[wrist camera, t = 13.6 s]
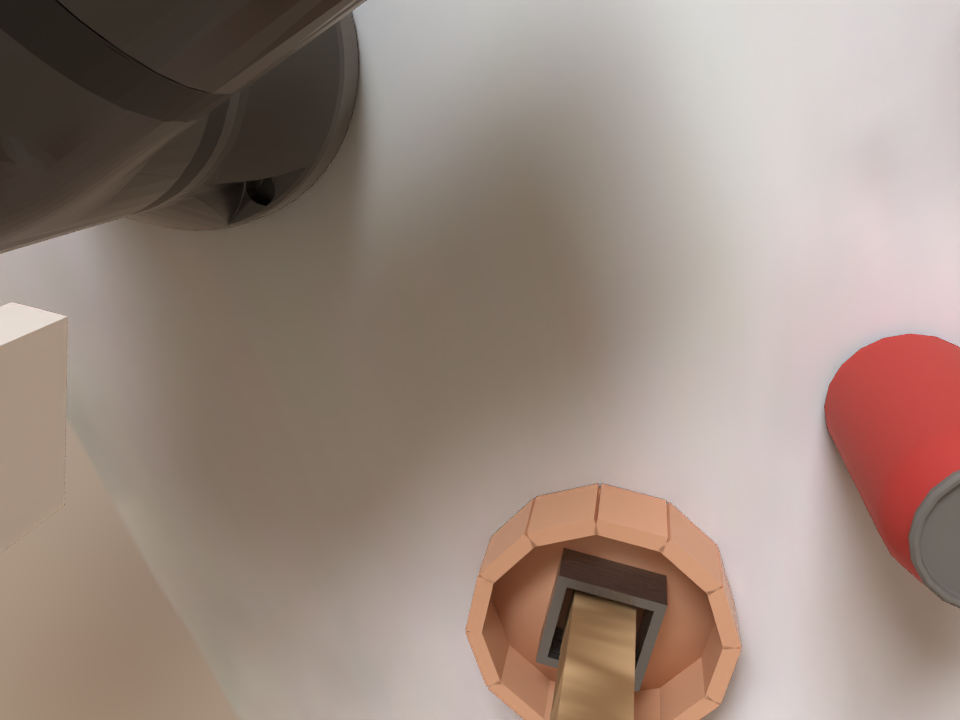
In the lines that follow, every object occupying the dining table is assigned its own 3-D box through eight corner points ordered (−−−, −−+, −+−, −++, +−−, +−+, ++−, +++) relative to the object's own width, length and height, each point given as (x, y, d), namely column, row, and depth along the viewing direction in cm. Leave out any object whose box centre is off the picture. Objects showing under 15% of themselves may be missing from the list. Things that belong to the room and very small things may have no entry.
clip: (541, 630, 44) (535, 662, 42) (563, 547, 42) (558, 575, 40) (639, 658, 44) (639, 691, 41) (666, 575, 42) (667, 605, 39)
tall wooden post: (565, 619, 44) (529, 854, 31) (577, 571, 43) (546, 793, 30) (622, 635, 43) (610, 879, 30) (636, 587, 42) (631, 819, 29)
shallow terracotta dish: (462, 659, 46) (448, 703, 43) (508, 459, 42) (497, 492, 39) (690, 725, 45) (693, 777, 42) (763, 525, 41) (773, 565, 37)
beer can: (910, 493, 39) (1016, 666, 28) (790, 416, 39) (848, 558, 27) (1017, 383, 36) (1181, 523, 25) (889, 300, 36) (996, 404, 25)
